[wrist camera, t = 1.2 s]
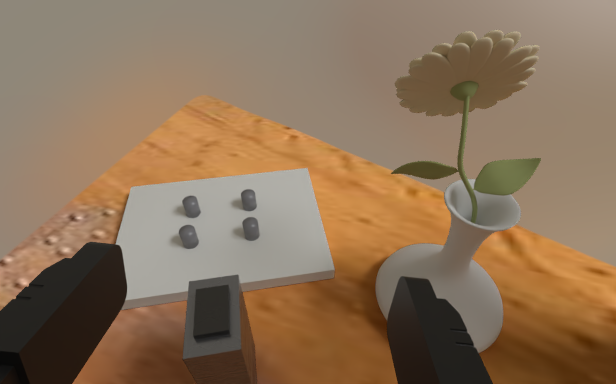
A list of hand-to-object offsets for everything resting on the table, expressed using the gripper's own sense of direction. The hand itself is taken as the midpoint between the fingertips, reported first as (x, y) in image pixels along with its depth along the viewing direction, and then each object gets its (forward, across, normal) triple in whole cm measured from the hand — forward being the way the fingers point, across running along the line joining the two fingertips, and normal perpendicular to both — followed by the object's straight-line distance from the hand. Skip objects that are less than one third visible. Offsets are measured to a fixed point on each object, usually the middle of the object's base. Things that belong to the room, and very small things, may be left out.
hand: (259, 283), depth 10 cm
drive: (+11, +2, +20) cm, 23 cm away
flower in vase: (+18, -14, +16) cm, 28 cm away
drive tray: (+26, +7, +16) cm, 31 cm away
